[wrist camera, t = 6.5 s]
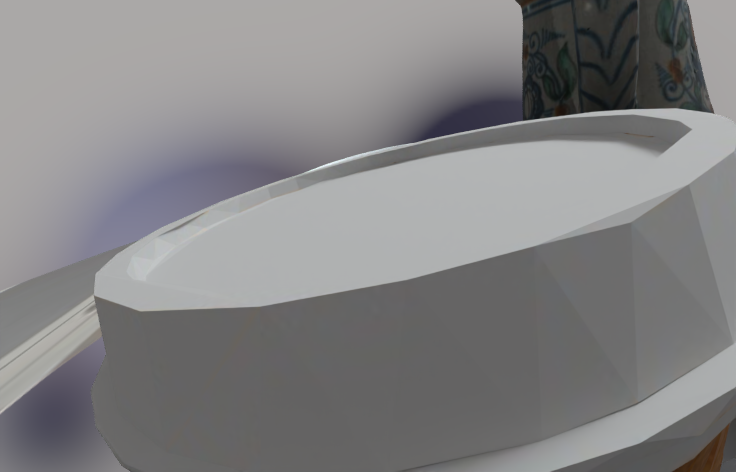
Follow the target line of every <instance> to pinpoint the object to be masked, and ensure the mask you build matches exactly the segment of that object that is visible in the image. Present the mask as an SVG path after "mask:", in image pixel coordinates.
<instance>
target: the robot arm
mask: <svg viewBox="0 0 736 472" xmlns="http://www.w3.org/2000/svg"><path fill="white" fill-rule="evenodd" d="M733 458H736V417H735V418H734V419H733V420H732V421H731V422H730V425H729V430H728V434H727V438H726V442H725V446H724V451H723V460H722V463H724V462H726V461H729V460H731V459H733ZM722 463H721V464H722Z"/></svg>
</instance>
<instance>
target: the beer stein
mask: <svg viewBox="0 0 736 472" xmlns="http://www.w3.org/2000/svg"><path fill="white" fill-rule="evenodd" d="M516 2H517V3H518V4H519V5H520V6H521V8H522V14H523V53H522V54H523V55H522V68H523V121H528V120H535V119H543V118H550V117H558V116H566V115H573V114H581V113H589V112H599V111H614V110H630V109H671V108H677V109H685V110H692V111H699V112H707V113H713V114H714V111H713V108H712V105H711V102H710V99H709V95H708V92H707V88H706V84H705V80H704V76H703V72H702V67H701V63H700V59H699V55H698V50H697V46H696V42H695V37H694V31H693V27H692V20H691V15H690V10H689V6H688V4H687V0H516Z"/></svg>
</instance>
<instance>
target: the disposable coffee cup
mask: <svg viewBox="0 0 736 472" xmlns="http://www.w3.org/2000/svg"><path fill="white" fill-rule="evenodd" d="M94 298H95V303H96V308H97V312H98V317H99V322H100V327H101V331H102V336H103V341H104V345H105V350H106V355H105V358H104V360H103V362H102V365H101V367H100V370H99V372H98V374H97V377H96V379H95V382H94V384H93V387H92V389H91V395H92V403H93V410H94V417H95V424H96V428H97V429H98V431H99V432H100V434H101V435H102V437H103V438H104V440H105V441H106V443H107V444H108V446H109V448H110V449H111V450H112V452H113V453H114V455H115V457H116V458H117V460H118V461H119V463H120V464H121V465H122V466H123V467H124V468H126V469H127V470H129V471H130V472H719V471H720V467H721V463H722V460H723V451H724V446H725V442H726V438H727V434H728V430H729V425H730V422H731V421H732V420H733V419H734V418H735V417H736V124H735V123H734V122H733V121H732V120H731V119H729V118H726V117H723V116H719V115H716V114H713V113H707V112H699V111H692V110H685V109H677V108H671V109H630V110H614V111H599V112H589V113H581V114H573V115H566V116H558V117H550V118H543V119H535V120H528V121H520V122H515V123H510V124H505V125H499V126H494V127H488V128H483V129H478V130H472V131H467V132H462V133H457V134H452V135H447V136H443V137H438V138H434V139H429V140H425V141H420V142H417V143H412V144H408V145H404V146H400V147H396V148H392V149H388V150H383V151H380V152H376V153H372V154H368V155H364V156H361V157H357V158H353V159H350V160H346V161H343V162H339V163H336V164H333V165H329V166H326V167H322V168H319V169H316V170H313V171H310V172H306V173H303V174H300V175H297V176H294V177H290V178H287V179H284V180H280V181H277V182H274V183H272V184H269V185H266V186H263V187H260V188H257V189H255V190H252V191H249V192H246V193H244V194H241V195H238V196H235V197H233V198H230V199H227V200H224V201H222V202H219V203H217V204H215V205H212V206H210V207H208V208H205V209H203V210H201V211H198V212H196V213H194V214H192V215H189V216H187V217H185V218H183V219H180V220H178V221H176V222H173V223H171V224H169V225H167V226H164V227H163V228H160V229H158V230H157V231H155V232H153V233H151V234H149V235H148V236H146V237H144V238H142V239H141V240H139V241H137V242H136V243H134V244H132V245H131V246H129V247H128V248H126V249H124V250H123V251H121V252H120V253H118V254H116V255H115V256H114V257H113V258H112V259H111V260H110V261H109V262H108V263H107V264H106V265H105V266H104V267H102V268H101V269H100V270H99V271H98V272H97V273H96V276H95V289H94Z"/></svg>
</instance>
